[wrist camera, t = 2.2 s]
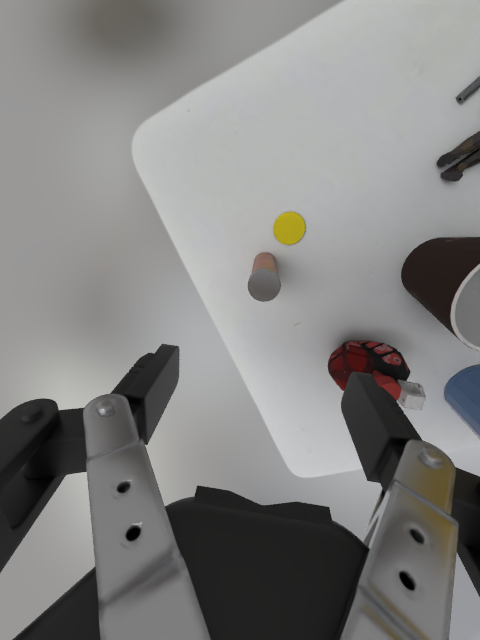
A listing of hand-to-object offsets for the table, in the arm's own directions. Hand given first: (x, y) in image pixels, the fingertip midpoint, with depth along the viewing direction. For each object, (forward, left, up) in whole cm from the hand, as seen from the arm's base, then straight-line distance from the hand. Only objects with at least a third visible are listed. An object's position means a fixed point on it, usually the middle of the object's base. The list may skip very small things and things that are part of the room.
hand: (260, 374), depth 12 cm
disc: (-5, +2, -19) cm, 20 cm away
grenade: (+7, +12, -19) cm, 24 cm away
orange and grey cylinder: (-1, 0, -19) cm, 19 cm away
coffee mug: (-2, +19, -19) cm, 27 cm away
